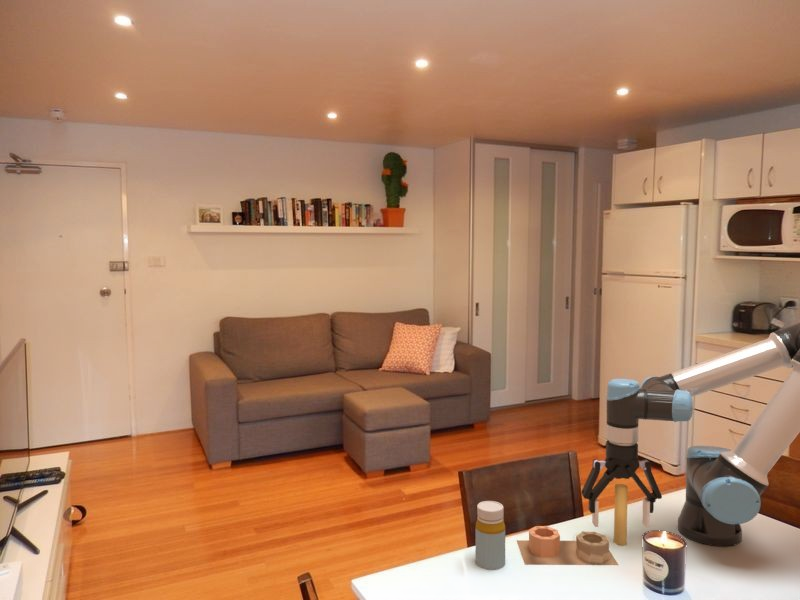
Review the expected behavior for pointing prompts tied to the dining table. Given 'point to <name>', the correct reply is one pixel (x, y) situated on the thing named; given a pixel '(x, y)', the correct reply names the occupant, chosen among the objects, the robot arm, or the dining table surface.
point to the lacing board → (563, 558)
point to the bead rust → (544, 541)
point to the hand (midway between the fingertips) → (620, 524)
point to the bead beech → (592, 547)
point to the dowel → (620, 515)
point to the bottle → (490, 535)
